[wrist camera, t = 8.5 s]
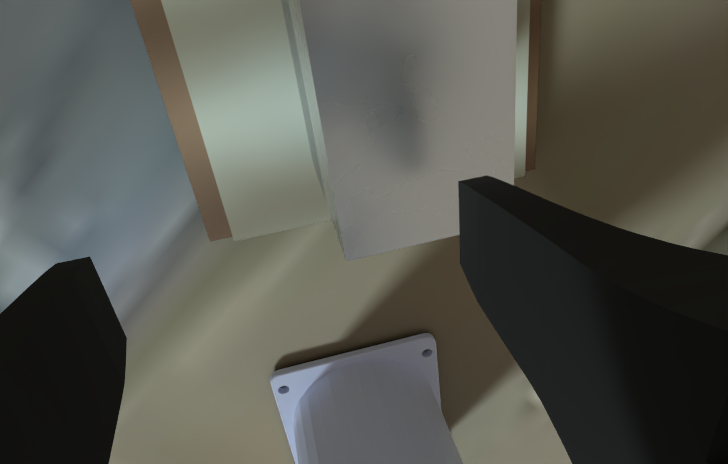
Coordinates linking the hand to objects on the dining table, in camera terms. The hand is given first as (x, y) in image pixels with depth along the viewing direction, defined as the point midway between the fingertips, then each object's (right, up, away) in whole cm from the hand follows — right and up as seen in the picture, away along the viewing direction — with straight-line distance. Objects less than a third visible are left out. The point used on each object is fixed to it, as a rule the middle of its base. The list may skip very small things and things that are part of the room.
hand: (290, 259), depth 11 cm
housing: (+1, +7, +6) cm, 9 cm away
